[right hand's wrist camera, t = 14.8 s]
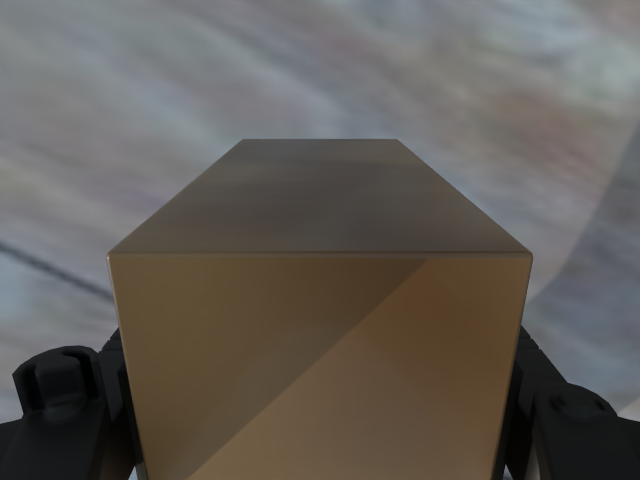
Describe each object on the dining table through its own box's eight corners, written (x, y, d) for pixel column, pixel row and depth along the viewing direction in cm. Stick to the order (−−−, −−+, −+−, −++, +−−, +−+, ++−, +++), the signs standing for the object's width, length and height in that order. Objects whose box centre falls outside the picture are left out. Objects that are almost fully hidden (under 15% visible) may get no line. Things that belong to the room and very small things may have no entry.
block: (253, 336, 19) (176, 645, 9) (241, 138, 16) (102, 253, 6) (385, 336, 19) (463, 645, 9) (398, 138, 16) (537, 253, 6)
